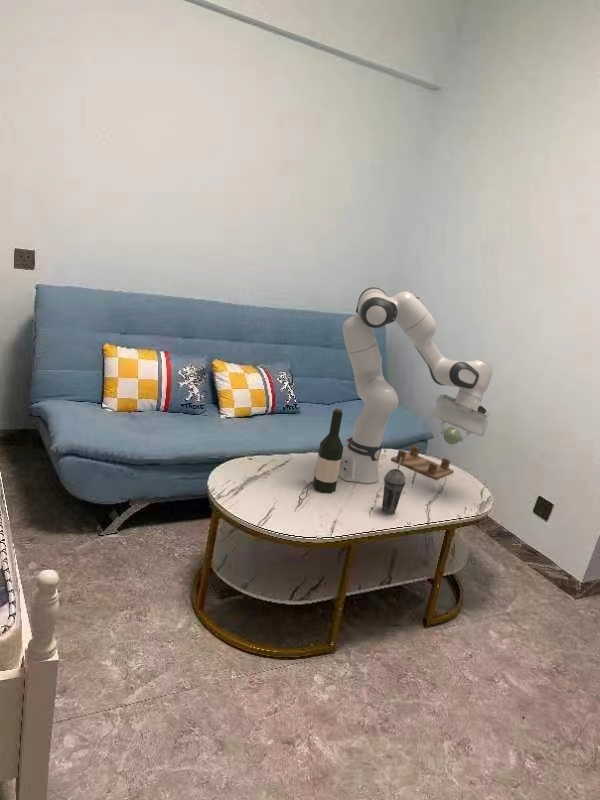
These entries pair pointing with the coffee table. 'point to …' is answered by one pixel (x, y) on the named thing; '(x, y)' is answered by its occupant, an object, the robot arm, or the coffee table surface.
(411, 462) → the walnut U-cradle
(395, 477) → the beverage cup
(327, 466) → the wine bottle
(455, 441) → the olive glass bottle
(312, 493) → the coffee table surface
